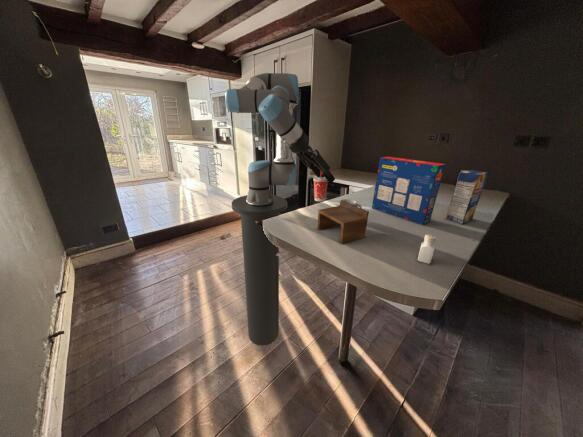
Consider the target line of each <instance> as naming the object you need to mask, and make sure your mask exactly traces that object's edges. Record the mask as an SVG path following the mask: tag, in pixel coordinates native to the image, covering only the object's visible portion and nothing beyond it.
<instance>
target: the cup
mask: <svg viewBox="0 0 583 437" xmlns="http://www.w3.org/2000/svg"><path fill="white" fill-rule="evenodd" d="M340 201H344V202H347V203H349V204H352V205H354V206H357V207H359V208H361V209H363V207H362V205H361V204H359V203H358V202H357V201H356V200H354V199H351V198H350V199H349V198H344V199H341V200H340Z"/></svg>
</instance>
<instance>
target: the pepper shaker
mask: <svg viewBox="0 0 583 437" xmlns="http://www.w3.org/2000/svg"><path fill="white" fill-rule="evenodd" d="M436 240H437V237H436V236H435V235H434V234H430V233H426V234H425V235H424V239H423V241H422V242H421V244H420V247H419V248H420V249H419V251H418V255H417V262H421V263H423V264H424V263H425V264H428V265H430V264H431V263H432V260H433V256H434V253H435V249H436V245H435V243H436Z"/></svg>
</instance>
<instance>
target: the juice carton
mask: <svg viewBox="0 0 583 437" xmlns="http://www.w3.org/2000/svg"><path fill="white" fill-rule="evenodd" d="M488 177H489V172H487V171H481V170H475V169H474V170H473V169H468V170H463V171H459V174H458V177H457V180H456V183H455V187H454V190H453V193H452V197H451V200H450V202H449V206H448V210H447V213H446V216H445V220H447V221H451V222H454V223H457V224H460V225H463V224H465V223H468V222H470V221H472V220H473V219H474V216H475V212H476V210H477V208H478V204H479V201H480V198H481V196H482V193H483V190H484V187H485V185H486V182H487V178H488Z"/></svg>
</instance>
